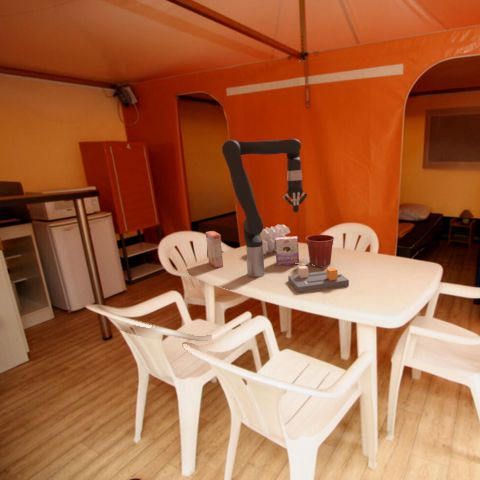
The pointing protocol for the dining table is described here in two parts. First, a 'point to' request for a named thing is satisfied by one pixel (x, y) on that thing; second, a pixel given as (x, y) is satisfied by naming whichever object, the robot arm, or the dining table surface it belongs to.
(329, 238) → the flower pot
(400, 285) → the dining table surface
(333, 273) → the orange slider
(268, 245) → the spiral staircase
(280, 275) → the dining table surface
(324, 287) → the panel
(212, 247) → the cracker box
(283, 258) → the candy box
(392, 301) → the dining table surface
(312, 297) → the dining table surface
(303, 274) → the ivory slider
